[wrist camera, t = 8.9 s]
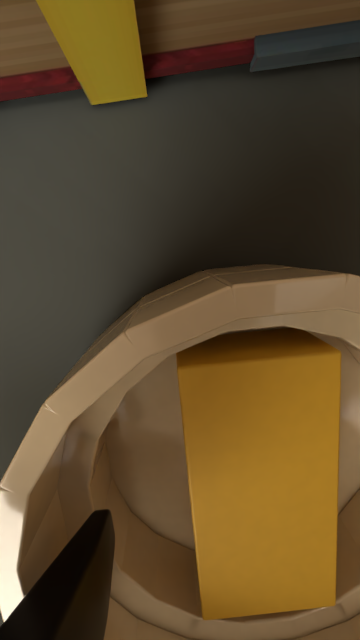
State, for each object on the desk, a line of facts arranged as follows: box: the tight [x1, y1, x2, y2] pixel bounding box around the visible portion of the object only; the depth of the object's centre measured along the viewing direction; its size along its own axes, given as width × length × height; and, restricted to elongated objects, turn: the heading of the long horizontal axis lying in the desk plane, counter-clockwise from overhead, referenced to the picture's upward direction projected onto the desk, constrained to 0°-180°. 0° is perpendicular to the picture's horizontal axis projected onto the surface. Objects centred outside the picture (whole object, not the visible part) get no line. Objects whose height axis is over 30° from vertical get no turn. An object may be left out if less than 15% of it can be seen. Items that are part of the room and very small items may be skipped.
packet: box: [176, 328, 342, 621], centre depth 9 cm, size 8×4×2 cm, turn 5°
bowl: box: [0, 264, 360, 640], centre depth 9 cm, size 12×12×5 cm
